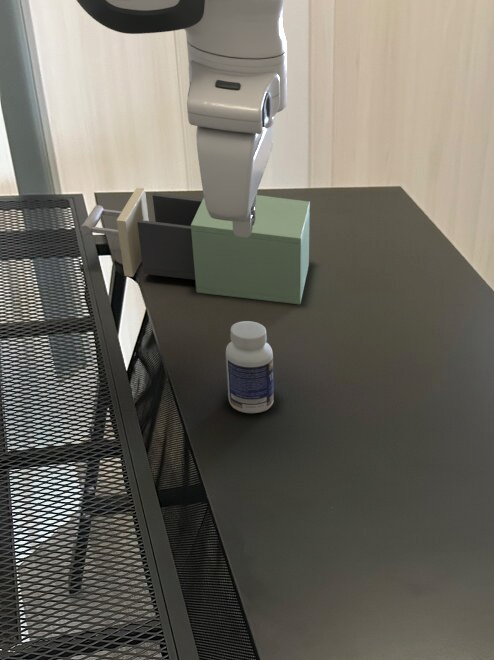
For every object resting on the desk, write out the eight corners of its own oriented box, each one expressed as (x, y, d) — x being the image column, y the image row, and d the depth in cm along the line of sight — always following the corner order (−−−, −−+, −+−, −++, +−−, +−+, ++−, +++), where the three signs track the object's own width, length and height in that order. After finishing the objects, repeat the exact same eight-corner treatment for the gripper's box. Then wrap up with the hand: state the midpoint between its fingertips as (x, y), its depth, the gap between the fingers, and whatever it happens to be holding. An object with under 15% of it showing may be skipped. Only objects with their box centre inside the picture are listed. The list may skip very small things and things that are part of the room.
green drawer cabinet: (196, 292, 121) (190, 224, 114) (211, 253, 129) (207, 188, 123) (300, 304, 122) (300, 238, 115) (308, 265, 131) (309, 201, 124)
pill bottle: (279, 411, 104) (278, 338, 97) (235, 417, 101) (231, 344, 94) (266, 387, 107) (264, 315, 100) (223, 393, 105) (218, 320, 98)
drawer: (82, 271, 119) (71, 214, 113) (103, 236, 127) (95, 182, 121) (222, 287, 121) (219, 232, 115) (235, 252, 129) (232, 199, 123)
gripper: (222, 45, 86) (230, 186, 96) (182, 110, 72) (195, 268, 82) (286, 54, 87) (286, 193, 97) (258, 120, 72) (262, 276, 82)
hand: (244, 228), depth 89 cm, fingers closed
